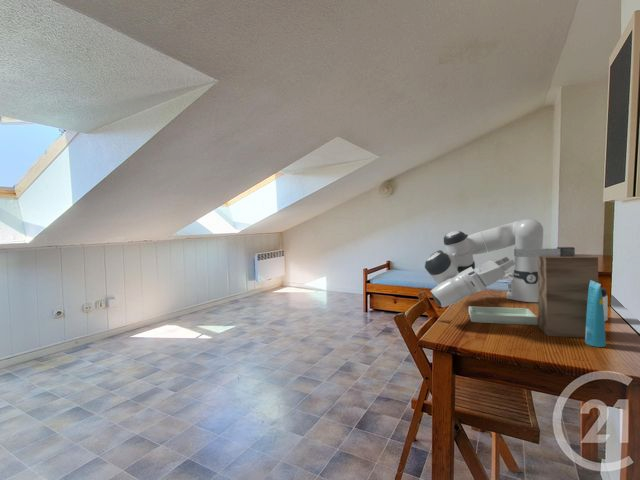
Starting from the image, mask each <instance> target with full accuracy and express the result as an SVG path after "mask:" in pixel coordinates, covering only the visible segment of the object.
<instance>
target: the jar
mask: <svg viewBox="0 0 640 480" xmlns="http://www.w3.org/2000/svg"><path fill="white" fill-rule="evenodd" d="M601 292H602V299H603V308H604V322H607V321H608V320H609V317H608V316H609V312H608V311H609V309H608V308H609V307H608V305H609V303H608V302H609V301H608V300H609V299H608V295H607V294H608V293H607V288H606V287H602V286H601Z"/></svg>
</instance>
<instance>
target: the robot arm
mask: <svg viewBox="0 0 640 480" xmlns="http://www.w3.org/2000/svg"><path fill="white" fill-rule="evenodd" d="M543 242H544V226H543V225H542V223H541V222H540V221H538V220H537V219H533V218H523V219H520V220H516V221H512V222H510V223H505V224H502V225H499V226H494V227H492V228H488V229H485V230H481V231H478V232H474V233H471V234H469V235H468V234H466V233H464V232H463V231H460V230H453V231H450V232H448V233H447V234H445V235H444V237H443V244H444V247H445V250H442V249H441V250H440V249H439V250H437V251H435V252H433V253H432V254H430V256H429V257H428V258H427V259H426V261H425V263H424V269H425V270H426V271H427V272H428V274H429V275H430V276H431V278H432V279H433V281H434V282H435V284H436V286H435V287H433V288H432V289H431V290H430V291H429V292H430V296H432V298H433V300H434V301H435V303H436V304H437V305H438V306H439V307H440V308H445V307H449V306H451V305H454V304H456V303H459V302H461V301H462V300H464V299H465V298H466V297H469V296H471V295H472V296H473V295H474V294H476V293H478V292H483V291H485V290H486V289H487V288H488V287H489V286H491V285H493V284H494V283H496V282H498V281H499V280H501V279H503V278H505V276H506V271H508V270H509V269H510V268H511V267H513V266H514V270H513V273H512V274H513V279H512V281H511V283H508V284H507V289H509V290H508V291H507V292H506V300H514V301H518V302H525V303H526V302H527V303H538V257H515V256H514V260H513V259H510V258H509V257H508V256H504V257H502V258H500V259H496V260H495V261H493V260H492V259H489V260H488V261H486V262H484V263H482V264H480V265H478V266H477V267H476V263H475V259H474V255H481V254H485V253H489V252H493V251H499V250H502V249H506V248H509V247H512V246H514V249H543Z"/></svg>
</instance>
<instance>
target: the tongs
mask: <svg viewBox="0 0 640 480" xmlns="http://www.w3.org/2000/svg"><path fill="white" fill-rule="evenodd" d="M575 250H576V249H575V247H574V246H557V247H556V248H542V249H515V248H514V249H513V257H514V258H515V257H575V255H576V254H575V253H576V251H575Z"/></svg>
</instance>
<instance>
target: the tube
mask: <svg viewBox="0 0 640 480" xmlns="http://www.w3.org/2000/svg"><path fill="white" fill-rule="evenodd" d="M601 285H602V284H601V283H599V282H598V283H596V282H594V281H592V280H590V284H589V290H588V300H587V314H586V332H585V338H584V343H585V345H588V346H591V347H596V348H604V347H606V346H607V345H606V340H607V339H606V324H605V322H606V321H605V322H604V308H603V299H602V292H601V287H602V286H601Z"/></svg>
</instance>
